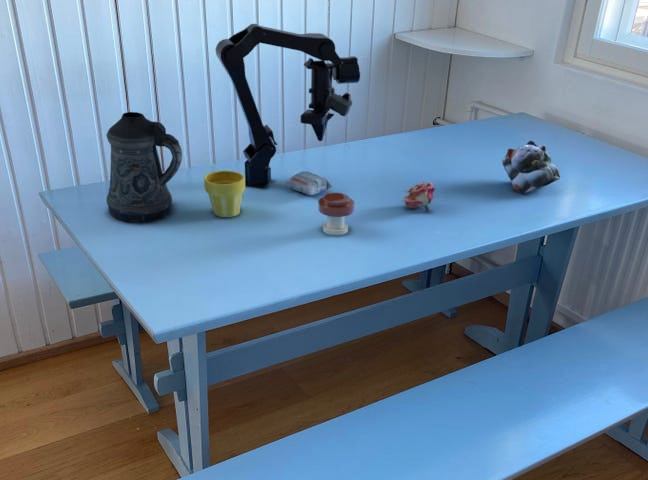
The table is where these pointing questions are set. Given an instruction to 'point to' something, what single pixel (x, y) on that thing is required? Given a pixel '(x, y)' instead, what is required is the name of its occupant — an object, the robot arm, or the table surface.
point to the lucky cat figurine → (530, 167)
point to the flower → (419, 196)
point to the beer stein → (140, 169)
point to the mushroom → (335, 212)
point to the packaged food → (308, 183)
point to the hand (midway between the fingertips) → (320, 140)
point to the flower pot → (225, 191)
